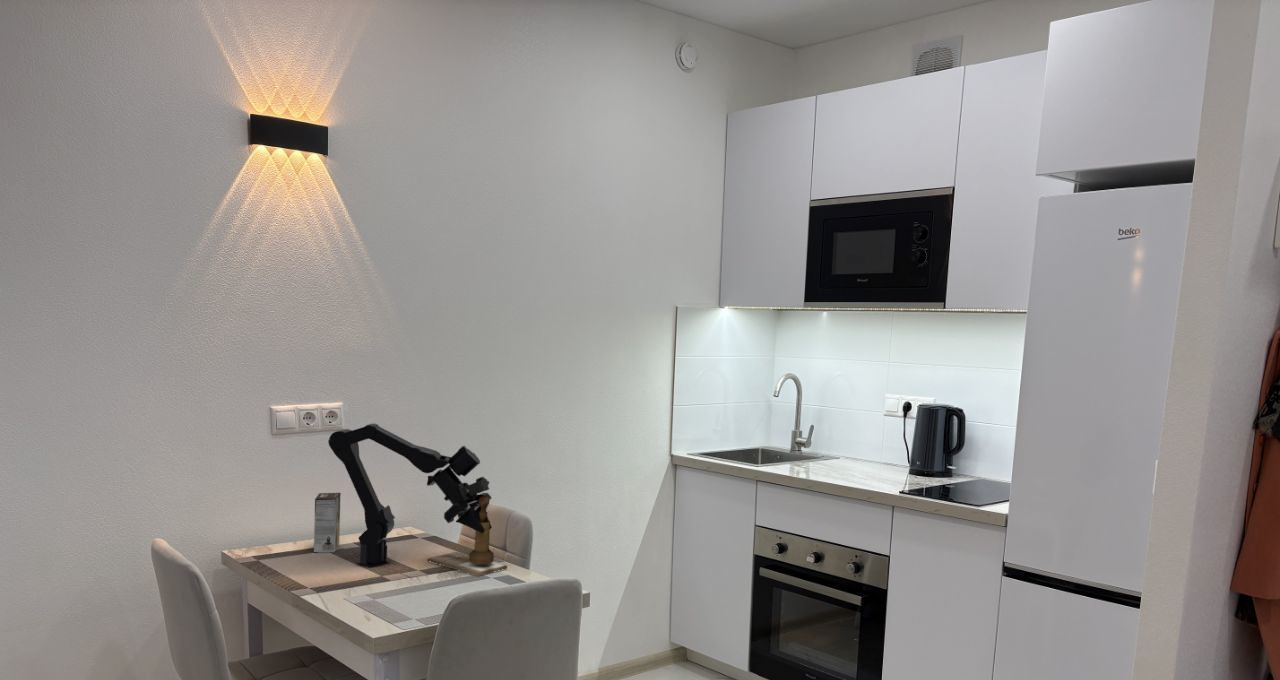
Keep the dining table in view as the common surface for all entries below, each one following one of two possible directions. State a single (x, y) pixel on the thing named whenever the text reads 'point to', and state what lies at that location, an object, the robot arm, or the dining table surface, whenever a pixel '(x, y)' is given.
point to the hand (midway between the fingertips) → (487, 530)
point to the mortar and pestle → (482, 537)
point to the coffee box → (327, 522)
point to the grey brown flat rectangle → (466, 564)
